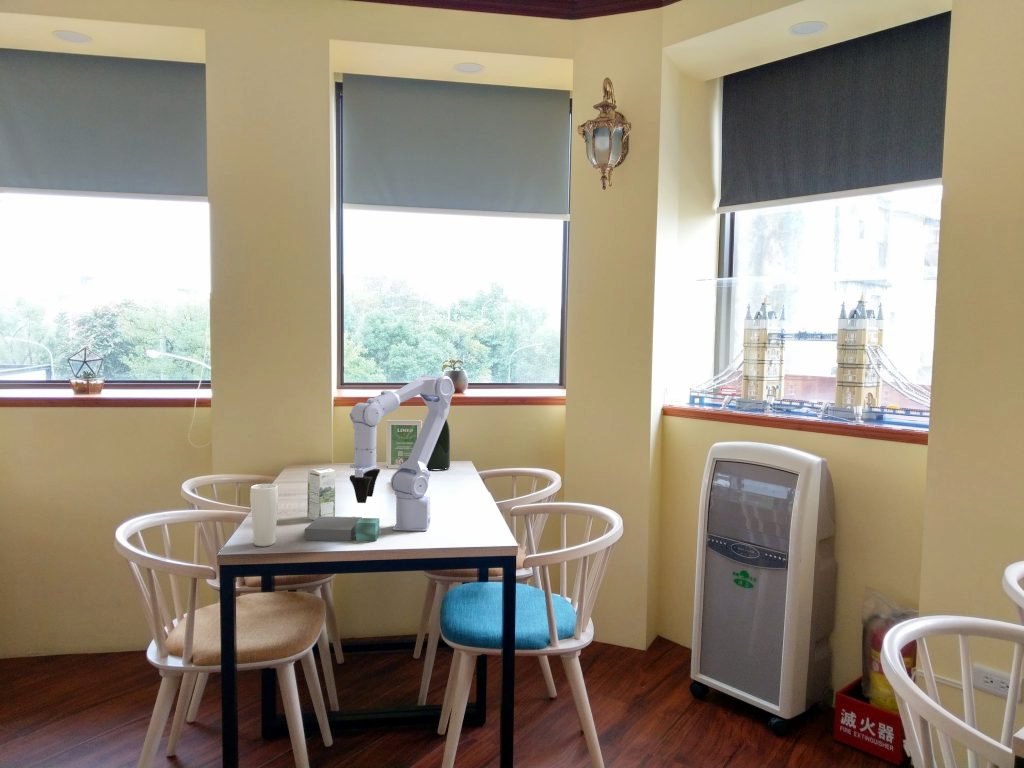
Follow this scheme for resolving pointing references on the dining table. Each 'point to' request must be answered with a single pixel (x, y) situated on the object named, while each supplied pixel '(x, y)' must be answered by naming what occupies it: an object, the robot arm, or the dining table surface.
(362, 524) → the teal cube
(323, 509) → the syrup box
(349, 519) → the gray square slab
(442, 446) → the dark green bottle
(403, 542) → the dining table surface
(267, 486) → the drinking glass
